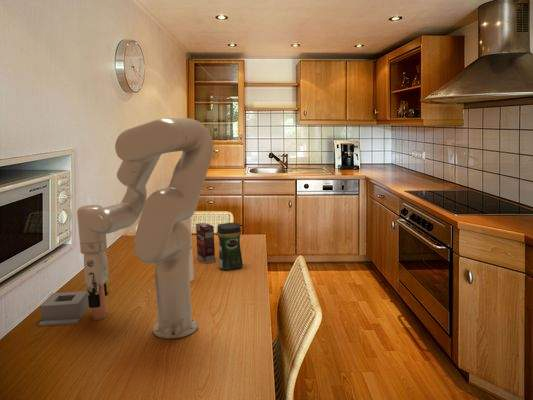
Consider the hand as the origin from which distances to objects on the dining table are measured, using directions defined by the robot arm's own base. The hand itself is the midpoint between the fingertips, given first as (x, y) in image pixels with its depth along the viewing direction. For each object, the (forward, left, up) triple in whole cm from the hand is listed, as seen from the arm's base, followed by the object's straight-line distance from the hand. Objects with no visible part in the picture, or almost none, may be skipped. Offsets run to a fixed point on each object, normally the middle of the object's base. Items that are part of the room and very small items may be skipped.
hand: (98, 301), depth 142 cm
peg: (0, 0, -5) cm, 5 cm away
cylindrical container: (+31, -24, -5) cm, 40 cm away
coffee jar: (+43, -42, -5) cm, 60 cm away
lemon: (+21, +4, -5) cm, 22 cm away
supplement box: (+55, -32, -5) cm, 64 cm away
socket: (+4, +11, -5) cm, 13 cm away
